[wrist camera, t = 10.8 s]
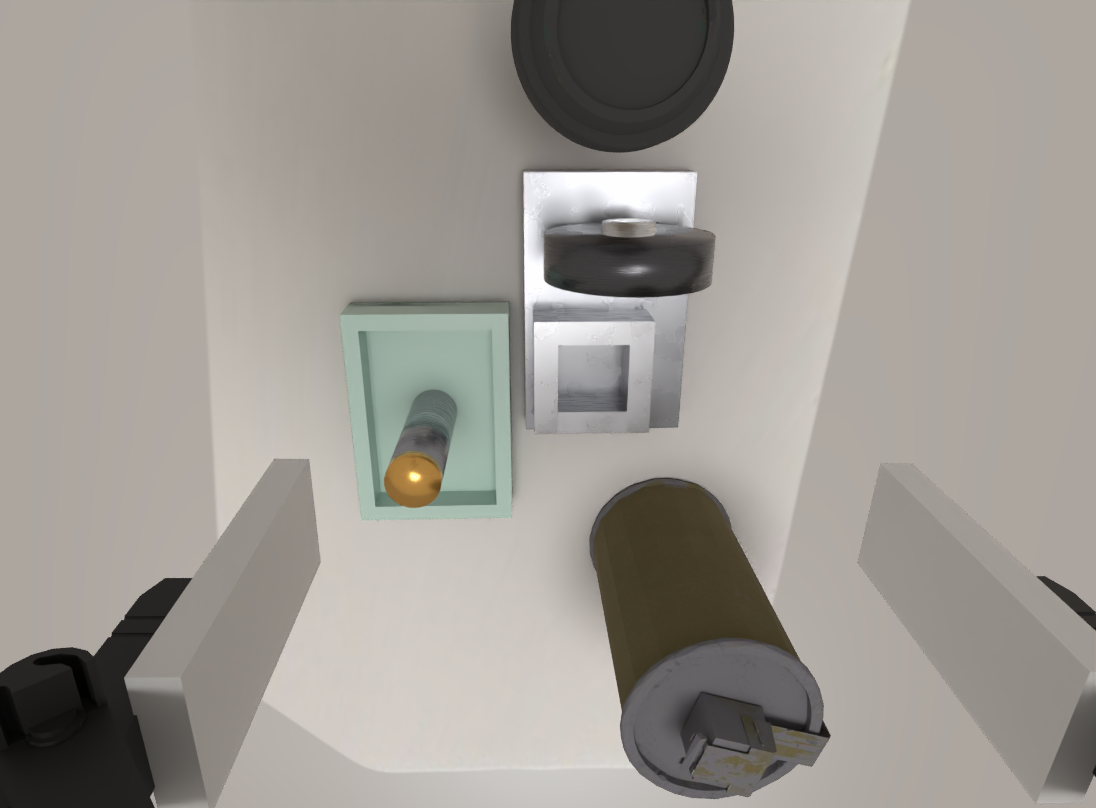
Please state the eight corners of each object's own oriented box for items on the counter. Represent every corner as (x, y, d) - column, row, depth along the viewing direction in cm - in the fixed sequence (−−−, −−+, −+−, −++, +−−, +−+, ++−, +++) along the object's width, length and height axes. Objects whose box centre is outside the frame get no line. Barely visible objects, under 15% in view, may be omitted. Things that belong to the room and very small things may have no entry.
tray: (350, 302, 45) (339, 314, 42) (508, 301, 46) (508, 313, 43) (370, 498, 50) (361, 520, 48) (512, 495, 51) (511, 517, 48)
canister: (570, 580, 54) (597, 823, 35) (618, 460, 50) (677, 661, 32) (702, 614, 55) (796, 864, 37) (758, 500, 52) (894, 714, 33)
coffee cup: (567, 174, 43) (590, 200, 29) (481, 31, 40) (462, -17, 26) (699, 86, 41) (791, 68, 27) (621, -70, 38) (679, -178, 24)
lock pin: (409, 389, 46) (381, 458, 37) (456, 389, 47) (439, 457, 37) (413, 432, 48) (386, 508, 38) (458, 431, 48) (442, 507, 38)
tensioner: (523, 169, 43) (524, 185, 32) (689, 170, 43) (742, 185, 33) (525, 417, 49) (527, 496, 38) (672, 415, 49) (712, 493, 39)
